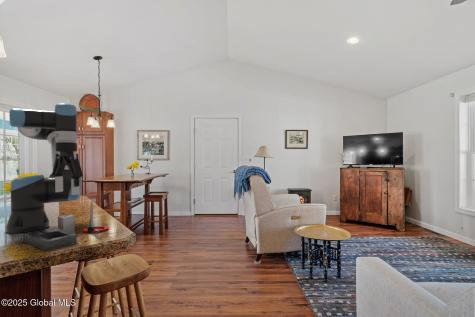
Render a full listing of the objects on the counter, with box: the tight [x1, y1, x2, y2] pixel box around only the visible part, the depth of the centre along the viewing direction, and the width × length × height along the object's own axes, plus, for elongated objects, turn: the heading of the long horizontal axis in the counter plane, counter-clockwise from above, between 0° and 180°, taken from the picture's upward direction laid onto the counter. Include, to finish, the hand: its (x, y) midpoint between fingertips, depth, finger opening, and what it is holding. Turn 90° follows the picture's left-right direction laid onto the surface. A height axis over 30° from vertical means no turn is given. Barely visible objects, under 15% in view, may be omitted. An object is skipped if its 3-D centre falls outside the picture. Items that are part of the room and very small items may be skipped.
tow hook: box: [82, 201, 110, 234], centre depth 115 cm, size 8×13×9 cm
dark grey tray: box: [24, 227, 78, 252], centre depth 99 cm, size 18×10×3 cm, turn 56°
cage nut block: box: [57, 214, 76, 234], centre depth 111 cm, size 4×4×7 cm
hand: (67, 193), depth 111 cm, fingers open, 13 cm apart
